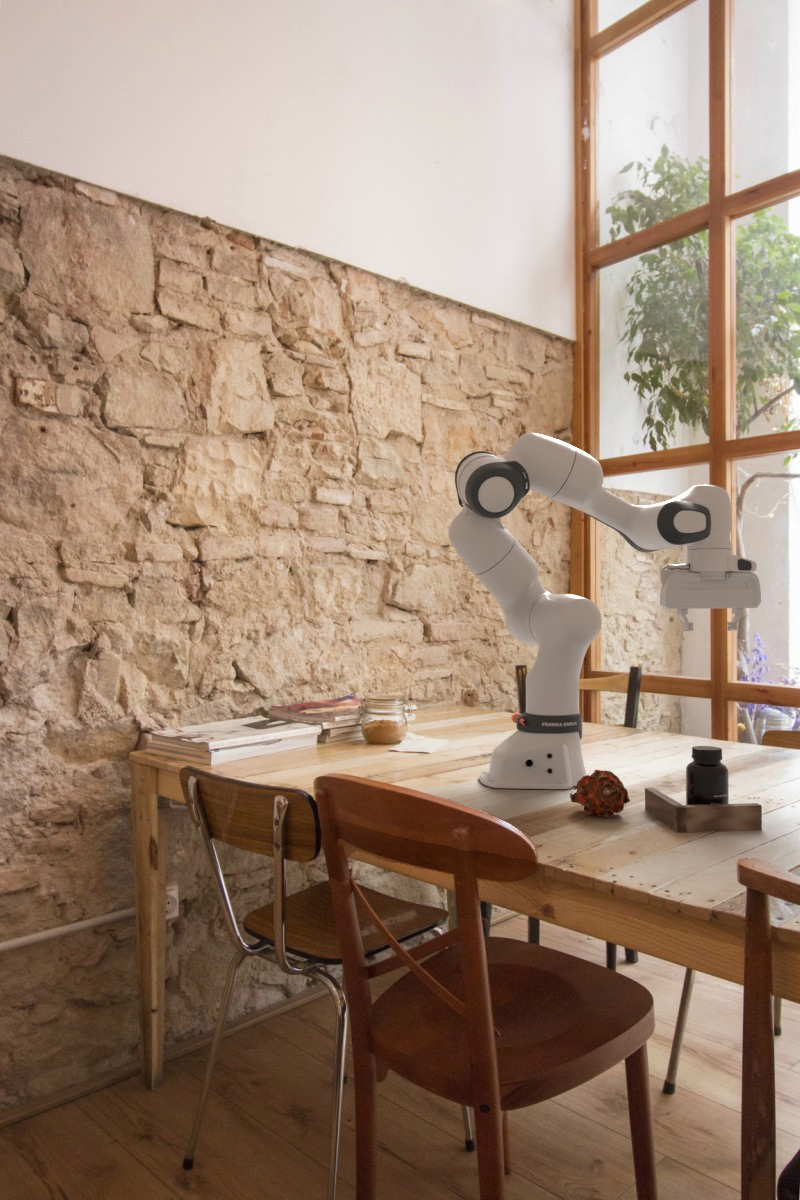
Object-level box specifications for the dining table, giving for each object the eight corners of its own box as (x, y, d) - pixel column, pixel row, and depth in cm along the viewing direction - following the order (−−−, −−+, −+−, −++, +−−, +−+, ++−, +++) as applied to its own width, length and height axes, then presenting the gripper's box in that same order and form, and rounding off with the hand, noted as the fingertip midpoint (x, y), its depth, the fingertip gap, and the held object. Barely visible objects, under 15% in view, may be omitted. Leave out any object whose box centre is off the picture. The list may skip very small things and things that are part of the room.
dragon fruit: (621, 833, 144) (579, 827, 155) (650, 798, 148) (607, 795, 158) (592, 794, 143) (552, 791, 154) (622, 760, 147) (581, 759, 157)
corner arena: (677, 832, 138) (677, 807, 138) (645, 810, 153) (644, 787, 153) (761, 830, 139) (761, 805, 139) (721, 808, 154) (721, 785, 154)
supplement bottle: (724, 825, 141) (723, 752, 141) (682, 820, 144) (681, 749, 144) (732, 816, 147) (731, 746, 147) (691, 811, 150) (690, 743, 150)
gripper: (666, 563, 173) (666, 631, 173) (764, 562, 174) (765, 630, 174) (654, 564, 179) (655, 631, 179) (749, 564, 181) (750, 629, 181)
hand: (710, 630), depth 177 cm, fingers open, 8 cm apart
